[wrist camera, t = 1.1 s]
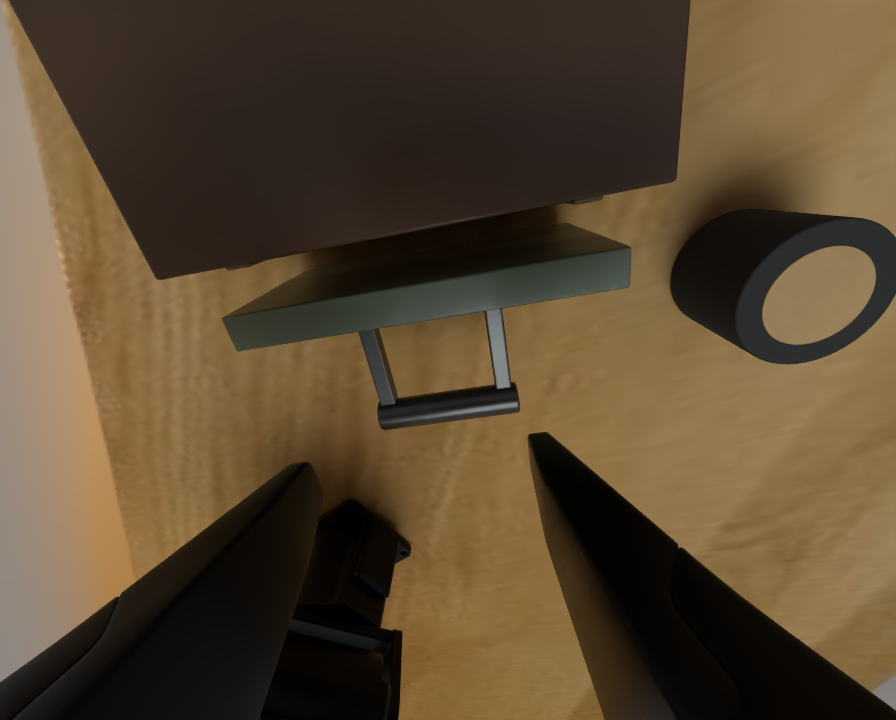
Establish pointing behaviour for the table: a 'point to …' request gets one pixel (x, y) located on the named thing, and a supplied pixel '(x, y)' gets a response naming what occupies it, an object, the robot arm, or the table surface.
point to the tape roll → (786, 281)
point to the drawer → (435, 305)
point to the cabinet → (357, 113)
